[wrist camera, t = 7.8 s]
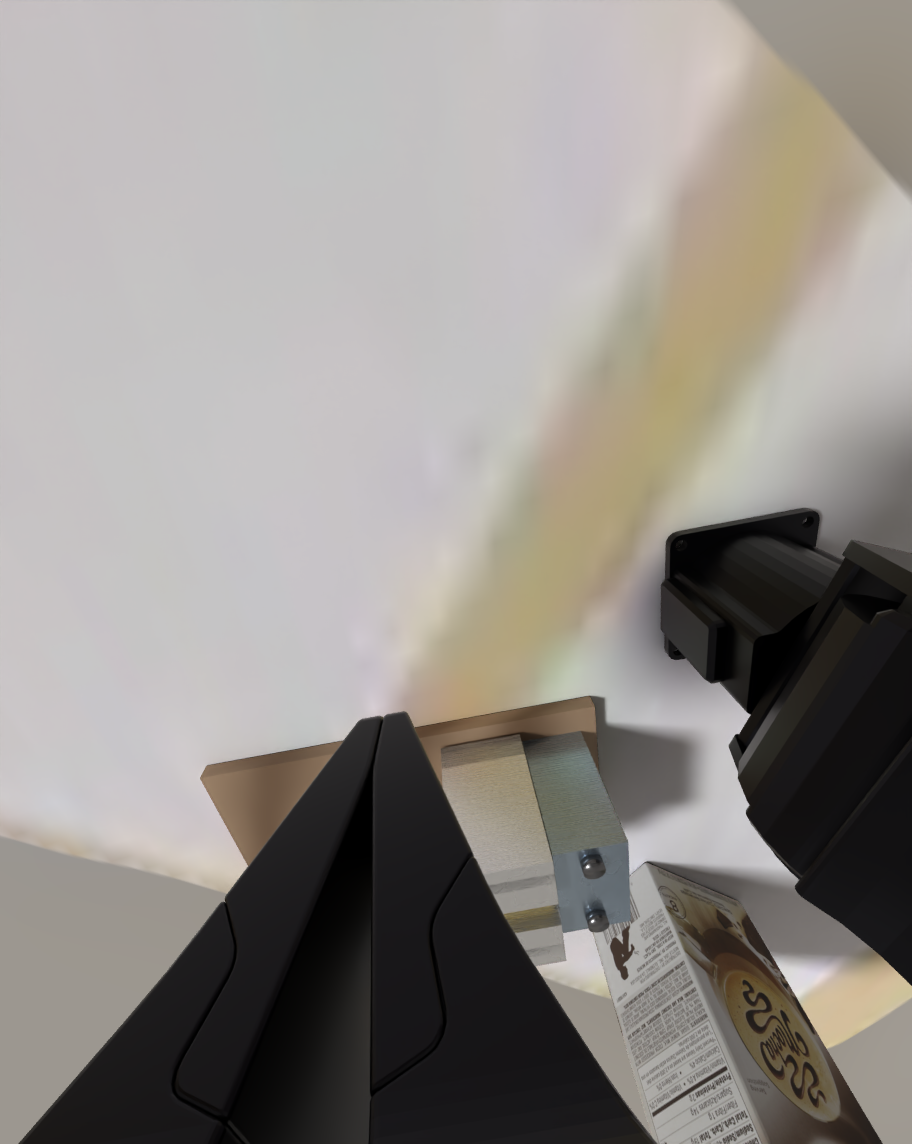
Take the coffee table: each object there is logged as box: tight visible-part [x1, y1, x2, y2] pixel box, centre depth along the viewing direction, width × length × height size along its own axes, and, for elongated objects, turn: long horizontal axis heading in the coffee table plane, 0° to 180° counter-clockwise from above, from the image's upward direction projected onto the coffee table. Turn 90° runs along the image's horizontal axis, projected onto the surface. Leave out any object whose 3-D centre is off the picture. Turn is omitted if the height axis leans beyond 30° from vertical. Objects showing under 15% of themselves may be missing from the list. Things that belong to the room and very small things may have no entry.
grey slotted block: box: [441, 734, 566, 966], centre depth 22 cm, size 4×7×7 cm, turn 10°
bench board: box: [200, 696, 599, 866], centre depth 26 cm, size 20×8×1 cm, turn 100°
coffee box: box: [593, 863, 882, 1144], centre depth 25 cm, size 9×6×16 cm
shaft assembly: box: [522, 731, 631, 933], centre depth 22 cm, size 13×5×6 cm, turn 100°
